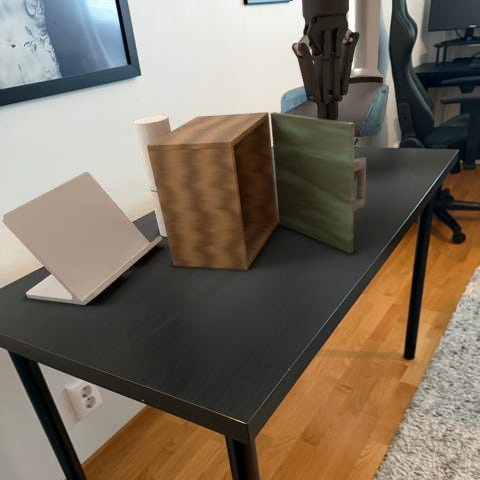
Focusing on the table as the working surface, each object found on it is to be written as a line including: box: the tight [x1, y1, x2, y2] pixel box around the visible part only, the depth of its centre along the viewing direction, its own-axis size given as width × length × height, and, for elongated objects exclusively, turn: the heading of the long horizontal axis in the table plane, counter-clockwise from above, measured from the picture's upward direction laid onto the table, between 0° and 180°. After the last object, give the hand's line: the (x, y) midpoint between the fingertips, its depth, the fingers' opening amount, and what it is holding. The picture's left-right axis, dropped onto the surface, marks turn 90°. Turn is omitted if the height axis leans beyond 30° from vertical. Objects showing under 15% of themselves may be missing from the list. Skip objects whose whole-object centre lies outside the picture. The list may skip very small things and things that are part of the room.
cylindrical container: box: [134, 114, 172, 237], centre depth 106 cm, size 7×7×25 cm
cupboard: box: [147, 111, 279, 271], centre depth 96 cm, size 16×22×24 cm
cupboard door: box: [269, 111, 368, 254], centre depth 95 cm, size 6×22×24 cm, turn 34°
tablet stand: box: [0, 171, 163, 306], centre depth 95 cm, size 18×25×17 cm
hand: (328, 139), depth 89 cm, fingers closed
